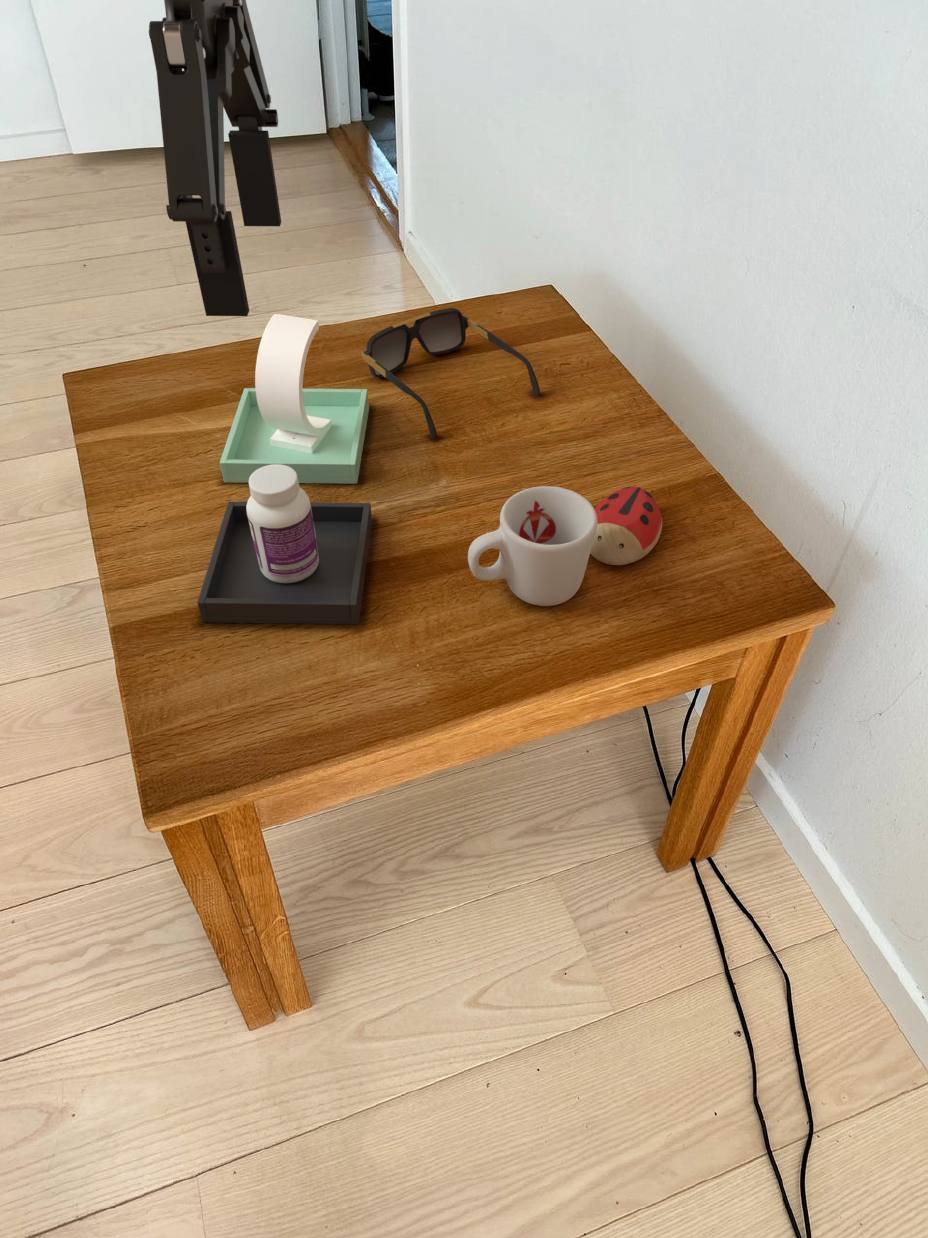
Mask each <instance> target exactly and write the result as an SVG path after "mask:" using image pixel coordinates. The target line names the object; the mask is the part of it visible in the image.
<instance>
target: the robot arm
mask: <svg viewBox="0 0 928 1238" xmlns="http://www.w3.org/2000/svg"><path fill="white" fill-rule="evenodd" d="M163 2H164V3H163V4H164V10H165V17H162V20H150V21H149V23H148V36H149V39H150V44H151V50H152V57H153V60H154V66H155V72H156V79H157V92H158V103H159V112H160V114H159V115H160V123H161V135H162V136H161V137H162V142H163V143H162V146H163V156H164V167H165V178H166V187H167V188H166V189H167V197H168V198H167V200H168V204H166V205H165V207H166V214H167V218H169V220H172V222H173V223H175V222H177V223H178V222H179V223H181V222H182V223H183V222H185V226H186V230H187V235H188V240H189V244H190V249H191V253H192V257H193V263H194V267H195V271H196V277H197V280H198V285H199V290H200V294H201V299H202V303H203V308H204V313H205V316H206V317H248V316H249V313H250V306H249V300H248V295H247V291H246V284H245V280H244V274H243V268H242V262H241V257H240V253H239V252H240V251H239V246H238V242H237V241H238V240H237V236H236V230H235V225H234V218H233V212H232V210H227V207H226V181H225V178H226V175H225V173H226V172H225V126H224V125H225V121H224V120H225V119H224V118H225V117H224V111H225V115H226V116H227V119H228V120H229V122H230V123H229V124H231V127H232V128H238V130H237V129H236V130H234V129H233V130H229V132H228V133H227V135H228V136H227V137H228V141H229V147H230V153H231V158H232V164H233V170H234V176H235V182H236V186H237V187H236V189H237V193H238V199H239V204H240V210H241V215H242V222H243V227H281V225H282V217H281V216H282V215H281V210H280V203H279V196H278V189H277V182H276V175H275V168H274V162H273V154H272V148H271V141H270V134H269V130H263V128H278V126H279V115H278V114H279V113H278V109H276V108H271V104H272V96H271V94H270V91H269V87H268V84H267V79H266V75H265V71H264V68H263V64H262V59H261V56H260V52H259V47H258V44H257V40H256V36H255V32H254V28H253V24H252V20H251V16H250V12H249V8H248V4H247V0H163ZM193 196H199V197H193Z"/></svg>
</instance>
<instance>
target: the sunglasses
mask: <svg viewBox="0 0 928 1238" xmlns="http://www.w3.org/2000/svg"><path fill="white" fill-rule="evenodd" d="M412 322H414V323H413V326H411V327H409V326H408V325H407V324H409V323H412ZM468 328H470V329H471V330H472V331H474V332H476V333H477V334H478V335H480V336H482V337H483V338H484V339H486V340H488V341H489V342H491V343H492V344H493V345H495V346H496V347H498V348H500V349H501V350H503V351H504V352H506V353H508V354H510V355H513V357H516V358H517V359H518V360H520V361H521V362H523V363H524V365H525V366H526V369H527V373H528V377H529V380H530V385H531V388H532V393H533V394H534V396H535V397H538V396H539V395H540V392H541V391H540V390H541V389H540V385H539V382H538V379H537V376H536V374H535V371H534V368H533V367H532V364H531V362H530V361H529V359H528V358H527V357H525V356H524V355H523V354H522V353H520V352H519V351H518V350H516V349H515V348H513V347H512V346H511V345H510V344H508V343H507V342H506V341H504V340H502V339H500V338H499V337H498V336H496V335H495V334H494V333H492V332H490V331H489V330H488V329H486V328H484V327H483V326H482V325H480V324H479V323H476V322H474V321H473V320H472V319H470V318H469V317H467V316H465V315H463V314H462V312H461V311H460V310H459V309H458V308H455V307H447V308H442V309H437V310H433V311H430V312H425V313H423V314H419V315H417V316H414V317H411V318H408V319H405V320H402V321H399V322H397V323H394V324H391V325H390V326H388V327H385V328H384V329H381V330H379V331H378V332H376V333H374V334H373V335H372V336H370V337H369V338H368V340H367V343H366V349H365V350H363V351H360V356H361V359H362V360H363V361H364V362H365V363H366V364H367V365H368V369H369V371H370V374H371V375H372V376H373V377H376V378H385V379H386V380H388V381H389V382H391V384H394V386H396V387H397V388H398V389H400V390H401V391H402V392H404V393H406V395H407V394H408V395H409V396H410V397H412V398H413V399H414V400H416V402H418V403H419V404H420V406H421V407H422V411H423V414H424V417H425V420H426V424H427V428H428V431H429V434H430V436H431V438H432V439H436V438H437V429H436V426H435V423H434V420H433V417H432V415H431V412H430V409H429V408H428V405H427V403H426V402H425V400H424V399H423V398H421V396H419V394H417V393H416V392H415V391H414V389H413V390H412V389H411V388H410V387H409V386H408V385H406V383H404V382H403V380H402V381H401V379H399V378H398V377H397V376H396V375H394V373H395V372H397V371H399V370H400V369H401V368H403V367H405V365H406V364H407V362H408V359H409V357H410V356H409V355H410V353H411V352H410V351H411V348H412V347H411V346H412V343H413V340H414V339H416V340H417V341H418V343H419V344H420V346H421V347H422V349H423V350H424V351H425V352H426V353H427V354H430V355H434V356H436V355H437V356H438V355H443V354H448V353H451V352H455V351H456V350H459V349H460V348H462V347H463V346H464V345H465V342H466V340H467V339H466V336H467V332H466V331H467V330H466V329H468Z"/></svg>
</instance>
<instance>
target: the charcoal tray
mask: <svg viewBox="0 0 928 1238" xmlns="http://www.w3.org/2000/svg"><path fill="white" fill-rule="evenodd" d="M247 502H248V501H228V502H227V504H226V508H225V511H224V515H223V518H222V520H221V524H220V527H219V531H218V535H217V537H216V540H215V544H214V547H213V550H212V554H211V556H210V561H209V563H208V566H207V569H206V573H205V577H204V580H203V583H202V586H201V590H200V593H199V596H198V600H197V602H196V603H197V606H198V609H199V613H200V615H201V620H202V623H219V624H221V623H222V624H224V623H225V624H295V625H296V624H297V625H298V624H302V625H303V624H304V625H305V624H307V625H309V624H311V625H317V624H318V625H359V623H360V618H361V617H360V616H361V610H362V603H363V602H362V601H363V594H364V587H365V586H364V585H365V581H366V580H365V579H366V572H367V564H368V557H369V550H370V542H371V536H372V535H371V534H372V528H373V516H372V515H373V514H372V507H371V505H372V504H371V503H370V502H314V501H313V502H311V501H310V504H311V510H312V517H313V522H314V528H315V534H316V541H317V547H318V554H319V564H318V567H317V569H316V570H315V571H314V572H313V573H312V574H311V575H310V576H309V577H307V578H305V579H304V580H301V581H298V582H294V583H278V582H274V581H272V580H270V579H268V578H267V577H265V576H264V575H263V573H262V572H261V570H260V566H259V562H258V558H257V555H256V551H255V547H254V542H253V538H252V534H251V529H250V525H249V520H248V516H247V510H246V506H247Z"/></svg>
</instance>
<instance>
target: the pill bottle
mask: <svg viewBox="0 0 928 1238" xmlns="http://www.w3.org/2000/svg"><path fill="white" fill-rule="evenodd" d="M248 487H249V494H250V496H249V498H248V499H247V501H246V502H247V506H246V510H247V516H248V520H249V525H250V529H251V534H252V538H253V542H254V547H255V551H256V555H257V558H258V562H259V566H260V570H261V572H262V573H263V575H264V576H265V577H267V578H268V579H270V580H272V581H274V582H278V583H294V582H298V581H301V580H304V579H305V578H307V577H309V576H310V575H311V574H312V573H313V572H314V571H315V570H316V569H317V567H318V564H319V554H318V547H317V541H316V534H315V528H314V522H313V517H312V510H311V504H310V502H311V500H310V497H309V494H307V492H306V491H305V489H303V488H302V487H300V483H299V481H298V477H297V474H296V472H295V471H294V470H293V469H292V468H291V467H289V466H286V465H281V464H272V465H267V466H263V467H261V468H259V469H257V470H255V471H254V472H253V473H252V474H251V476H250V478H249V483H248Z"/></svg>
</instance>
